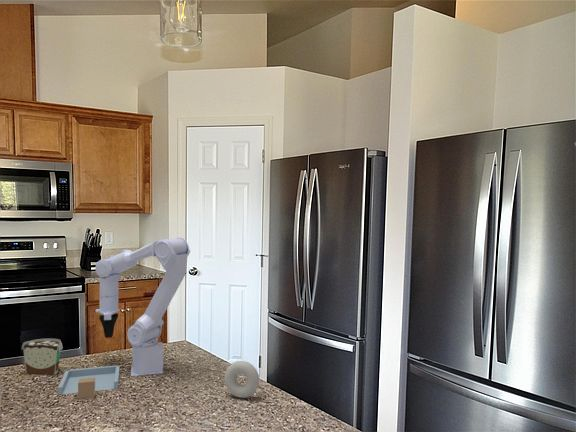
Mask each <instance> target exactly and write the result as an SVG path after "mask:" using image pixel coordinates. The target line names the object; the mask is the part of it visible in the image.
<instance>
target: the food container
mask: <svg viewBox="0 0 576 432" xmlns="http://www.w3.org/2000/svg"><path fill="white" fill-rule="evenodd" d="M63 349H64V347H63V343H62V341H61V339H58V338H39V339H32V340H28V341H24V342H23V343H22V345H21V350H23V359H24V369H25V375H37V376H38V375H43V376H56V375H57V374H58V373H59V365H60V356H61V355H60V354H61V351H62V350H63Z"/></svg>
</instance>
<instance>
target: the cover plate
mask: <svg viewBox="0 0 576 432" xmlns="http://www.w3.org/2000/svg"><path fill="white" fill-rule="evenodd" d="M95 396H96V391H95V378H85V379H79V382H78V393H77V399H78V400H83V399H91V398H95ZM103 409H105V410H106V409H107V407H103V408H101V410H103ZM94 410H95V411H97V410H98V408H95V409H93V411H94ZM86 411H90V409H86V410H84V412H86ZM77 412H78V413H79V412H81V410H80V411H79V410H78V411H76V413H77ZM69 413H73V411H70V412H67V414H69ZM62 414H65V412H61V413H59V415H62Z"/></svg>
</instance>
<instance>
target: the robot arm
mask: <svg viewBox="0 0 576 432" xmlns="http://www.w3.org/2000/svg"><path fill="white" fill-rule="evenodd" d="M190 253H191V249H190V246H189V244H188V241H187V240H186V239H185V238H183V237H176V238H166V239H165V238H164V239H159V240H155V241H152V242H150V243H148V244H146V245H144V246H142V247H140V248H138V249H135V250H134V251H132V250H130V249H122V250H121V251H120V253H118V254H112V255H110V256H109V258H106V259H105V258H102V259H100V260H98V261H97V262H96V264H95V273H96V275H97V276H98V277H99V308H97V309H95V313H99V314H100V315H99V321H100V323H101V326H102V328H103V329H102V330H103V334H104V337H105V339H107V338H110V339H111V338H113V336H114V331H115V330H114V329H115V325H116V322H117V320H118V318H119V313H118V312H120V308H119V280H120V277H121V274H122V273H123V272H125V271H127V270H130V269H132V268H135V267H136V266H137V265H138V262H139V261H142V260H144V259H147V258H149V257H156V258H157V260H158V261H159V263H160V265H161V267H162V268H163V269H164V270H165V273H164V276H163V278H162V280H161V281H160V283H159V286H158V287H157V289H156V290H155V293H154V295H153V297H152V298H151V300H150V303H149V304H148V306H147V307H146V310H145V312H144V313H143V314H142V315H141V316H140V317H138V319H136V320H135V322H134V324H133V325H131V326H130V327H129V328H128V329H127V334H126V338H127V340H128V343H129V344H130V346H132V363H131V364H132V365H131V367H130V369H131V370H130V376H131V377H137V376H146V375H154V374H164V365H165V359H164V344H163V342H161V341H160V342H159V340H158V338H160V336H161V335H162V330H163V329H162V328H163V325H164V323H165V322H164V320H163V316H164V315H165V313H166V311H167V309H168V308H169V305H170V304H171V302H172V300H173V298H174V297H175V295H176V293H177V291H178V288H179V287H180V286H181V284H182V281H183V280H184V279H185V276H186V274H187V268H188V267H187V265H188V257H189V256H190Z"/></svg>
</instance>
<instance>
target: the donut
mask: <svg viewBox="0 0 576 432" xmlns="http://www.w3.org/2000/svg"><path fill="white" fill-rule="evenodd" d="M240 374H243V376H245V377H246V383H245V384H241V383H240V382H239V381H238V380H237V377H238V375H240ZM224 383H225V384H224V385H225V386H226V389H227V390H228V392H229V393H230V394H232V395H233V396H234V397H237V398H239V399H246V398H249V397H250V396H253V395H254V394H255V393H256V391H257V390H258V388H259V385H260V375H259V372H258V371H257V368H256V367H255V366H254V365H253V364H252V363H250V362H248V361H246V360H236V361H234V362H231V364H230V365H228V367H227V368H226V370H225V373H224Z"/></svg>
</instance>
